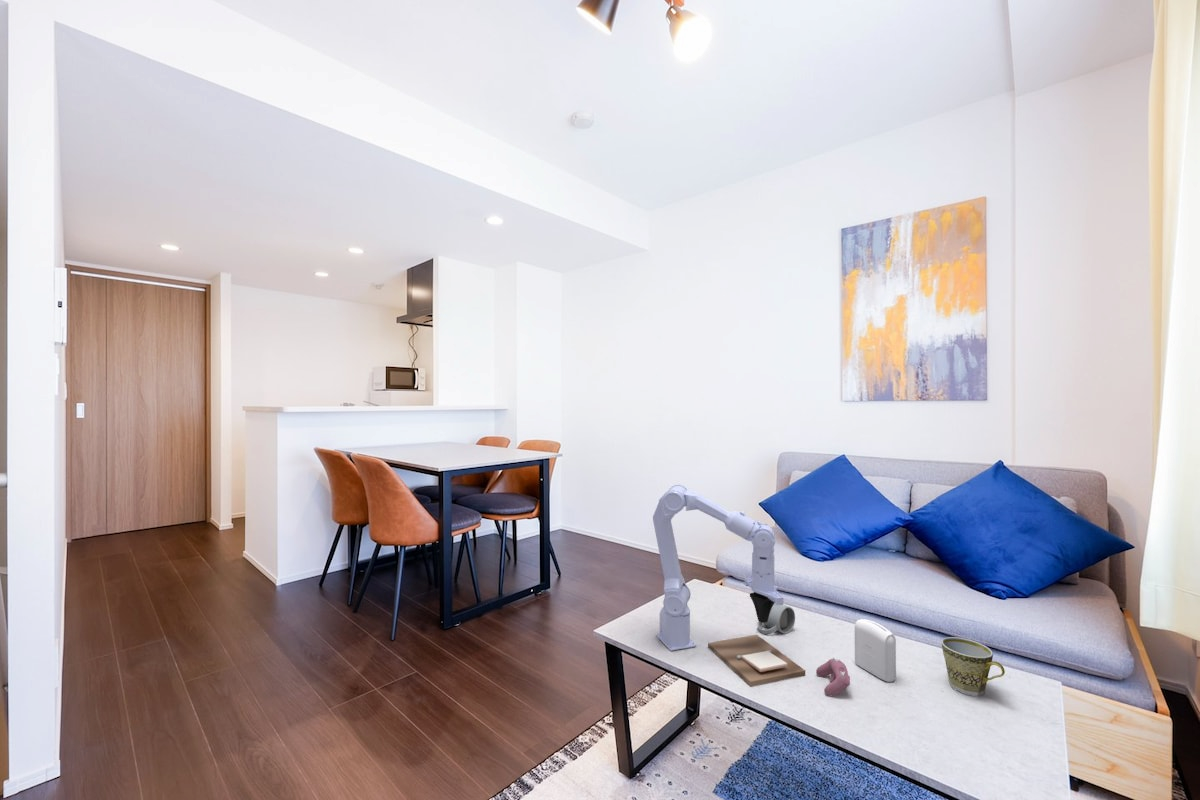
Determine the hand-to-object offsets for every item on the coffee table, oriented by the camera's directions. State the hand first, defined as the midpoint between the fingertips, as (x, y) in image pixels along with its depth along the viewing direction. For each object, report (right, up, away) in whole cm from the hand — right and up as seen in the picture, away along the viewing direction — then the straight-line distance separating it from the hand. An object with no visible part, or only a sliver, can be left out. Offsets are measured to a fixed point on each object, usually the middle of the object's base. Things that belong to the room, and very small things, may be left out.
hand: (762, 621), depth 135 cm
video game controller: (+12, -10, -14) cm, 21 cm away
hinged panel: (-2, -7, -6) cm, 9 cm away
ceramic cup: (+45, -10, -16) cm, 48 cm away
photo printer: (+26, -10, -8) cm, 29 cm away
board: (-3, -9, -2) cm, 10 cm away
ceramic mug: (+9, -10, +16) cm, 20 cm away
